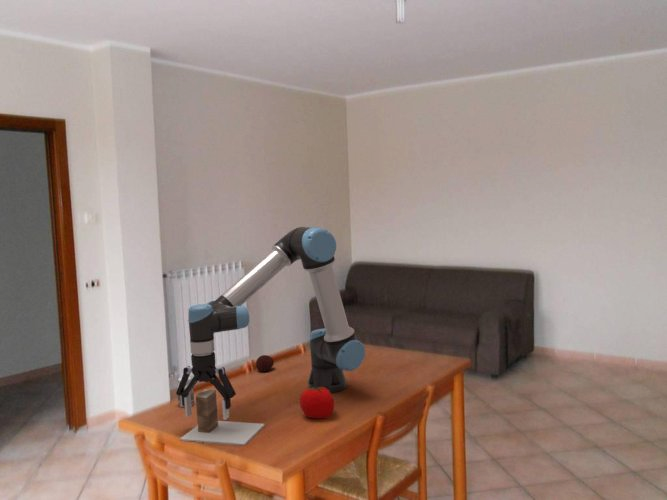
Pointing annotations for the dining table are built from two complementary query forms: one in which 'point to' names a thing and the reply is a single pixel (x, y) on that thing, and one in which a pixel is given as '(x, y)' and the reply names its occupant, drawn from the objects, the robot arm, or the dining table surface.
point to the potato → (264, 363)
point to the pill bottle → (188, 394)
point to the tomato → (317, 402)
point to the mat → (226, 433)
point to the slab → (206, 410)
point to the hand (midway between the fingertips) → (207, 417)
